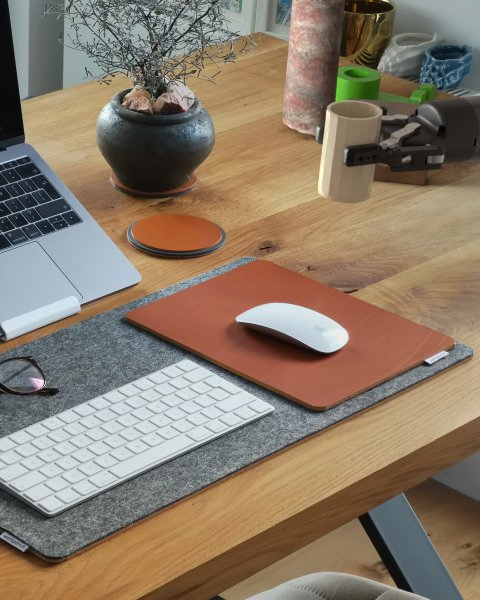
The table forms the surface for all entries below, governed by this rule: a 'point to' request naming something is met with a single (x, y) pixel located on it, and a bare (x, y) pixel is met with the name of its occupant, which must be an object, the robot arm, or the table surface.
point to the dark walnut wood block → (404, 177)
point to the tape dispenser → (374, 87)
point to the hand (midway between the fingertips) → (331, 145)
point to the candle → (312, 62)
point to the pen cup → (337, 136)
